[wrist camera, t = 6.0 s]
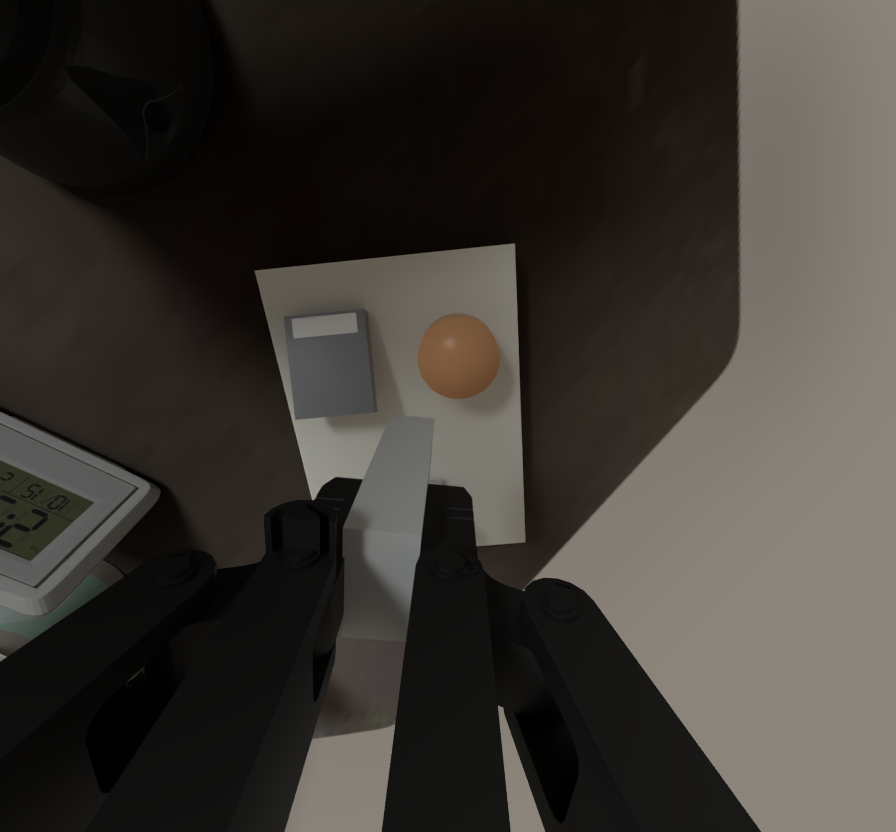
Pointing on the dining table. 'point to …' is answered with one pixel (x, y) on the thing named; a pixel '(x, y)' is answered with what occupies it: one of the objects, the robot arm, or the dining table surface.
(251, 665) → the robot arm
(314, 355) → the grey flat block
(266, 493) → the dining table surface
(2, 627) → the coffee cup
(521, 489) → the panel
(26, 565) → the digital clock
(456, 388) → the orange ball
